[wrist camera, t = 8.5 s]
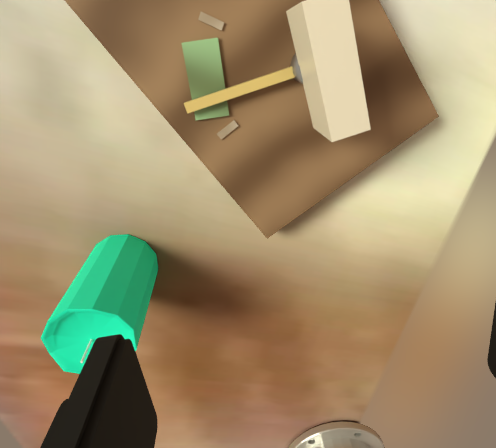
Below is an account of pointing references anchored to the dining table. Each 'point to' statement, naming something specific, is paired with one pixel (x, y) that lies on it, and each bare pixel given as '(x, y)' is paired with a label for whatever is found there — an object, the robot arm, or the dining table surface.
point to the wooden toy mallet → (316, 70)
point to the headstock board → (259, 94)
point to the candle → (103, 300)
